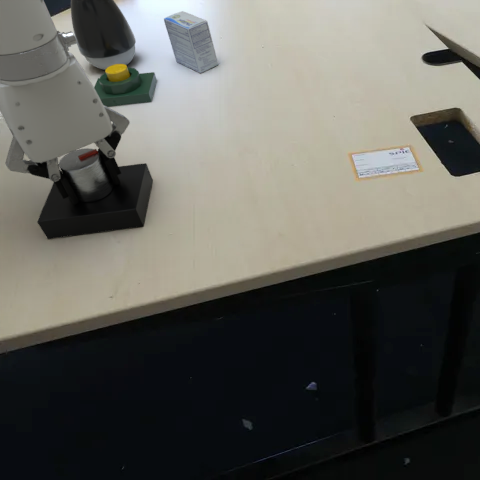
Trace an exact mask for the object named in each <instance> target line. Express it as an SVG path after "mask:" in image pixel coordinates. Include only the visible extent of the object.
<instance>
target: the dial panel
mask: <svg viewBox="0 0 480 480" xmlns="http://www.w3.org/2000/svg"><path fill="white" fill-rule="evenodd" d="M118 167H119V169H120V171H121V174H119V175H117V176H118V178H119V180H120V182H121V184H119V185H115V184H114V183H113V182H112V183H113V189H112V191H111V192H110V193H109V194H108V195H107V196H105V197H104V198H102V199H99V200H97V201H92V202H82V201H79V202H78V203H77V204H75V205H74V204H73V203H72V201H71V200H70V199H69V197H67V198H65V199H63V198H62V196H61V195H60V193H59V192H58V190H57V188H56V186H55V184H54V183H53V182H52V186H51V187H50V190H49V193H48V195H47V196H46V197H47V198H46V200H45V202H44V204H43V207H42V210H41V211H40V214H39V217H38V219H37V221H36V223H37V224H38V226H39V227H40V229H41V231H42V232H43V234H44V236H45V237H46V238H47V240H52V239H58V238H59V239H60V238H67V237H73V236H74V237H75V236H83V235H88V234H89V235H90V234H97V233H104V232H105V233H106V232H113V231H120V230H128V229H136V228H142V227H144V226H145V221H146V215H147V211H148V206H149V201H150V197H151V191H152V186H153V181H154V179H153V177H152V174H151V172H150V169H149V166H148V164H147V163H146V162H144V163H137V164H129V165H120V166H119V165H118Z"/></svg>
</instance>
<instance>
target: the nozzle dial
mask: <svg viewBox="0 0 480 480" xmlns="http://www.w3.org/2000/svg"><path fill="white" fill-rule="evenodd" d="M58 164H59V169H60V170H61V172H62V173H63V174H64V175H65V177H66V178H67V180H68V181H69V183H70V185H71V187H72V189H73V191H74V193H75V194H76V196H77V198H78V200H79V201H82V202H92V201H97V200H99V199H102V198H104V197H105V196H107V195H108V194H109V193H110V192H111V191H112V189H113V183H112V180H111V178H110V176H109V174H108V172H107V170H106V168H105V165H104V163H103V161H102V159H101V157H100V155H99V153H98V149H97V148H88V147H87V148H85V147H84V148H80V149H77V150H75V151H72V152H70V153H67V154H65V155H63V156H62V157H61V159H60V160H59V161H58Z"/></svg>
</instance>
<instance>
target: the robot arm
mask: <svg viewBox="0 0 480 480" xmlns="http://www.w3.org/2000/svg"><path fill="white" fill-rule="evenodd" d="M73 45H77V40H76V38H75V35H74V32H73V31H67V32H64V31H62V32H61V31H59V30H58V29H57V27H56V25H55V23H54V21H53V18H52V16H51V14H50V11H49V10H48V7H47V5H46V3H45V1H44V0H0V113H1V116H2V118H3V120H4V121H5V124H6V126H7V127H8V130H9V132H10V133H11V135H12V137H11V141H10V145H9V148H8V152H7V155H6V159H5V164H4V165H5V166H6V167H7V169H8V171H10V172H14V173H21V174H29V175H32V176H35V177H38V178H44V179H46V180H47V179H48V180H50V181H51V182H52V184H53V183H54V184H55V186H56V188H57V190H58V192H59V193H60V195H61V196H62V198H63V199H65V198H67V197H69V199H70V200H71V201H72V203H73V204H74V205H75V204H77V203H78V202H79V200H78V198H77V196H76V194H75V193H74V191H73V189H72V187H71V185H70V183H69V181H68V180H67V178H66V177H65V175H64V174H63V173H62V171H61V169H60V167H59V159H58V158H60V157H63V156H65V155H67V154H68V153H70V152H72V151H75V150H79V149H83V148H85V147H87V146H89V145H92V144H94V145H96V147H97V148H98V149H97V151H98V153H99V155H100V157H101V159H102V161H103V163H104V165H105V168H106V170H107V172H108V174H109V176H110V178H111V180H112V182H113V183H114V184H115V185H119V184H121V182H120V180H119V178H118V176H117V175H119V174H121V171H120V169H119V164H118V162H117V160H116V158H115V157H116V155H117V153H116V150H117V148H118V146H119V144H120V141H121V139H122V135H123V134H124V133H125V132H126V130H127V129H128V127H129V125H130V124H131V123H130V122H131V121H130V120H129V119H128V118H127V117H126V116H125V115H124V114H122V113H120V112H118V111H116V110H114V109H112V108H111V107H106V106H104V105H103V104H102V102H101V100H100V98H99V96H98V94H97V92H96V90H95V88H94V87H95V86H94V85H93V83H92V81H91V79H90V78H89V76H88V74H87V72H86V71H85V69H84V68H83V66H82V65H81V63H80V61H79V60H78V59H77V58H76V56H75V55H74V54H73V53H72V52H69V51H70V49H69V48H71V47H72V46H73ZM25 155H26V157H27V158H28V159H29V160H27V159H24V156H25Z"/></svg>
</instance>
